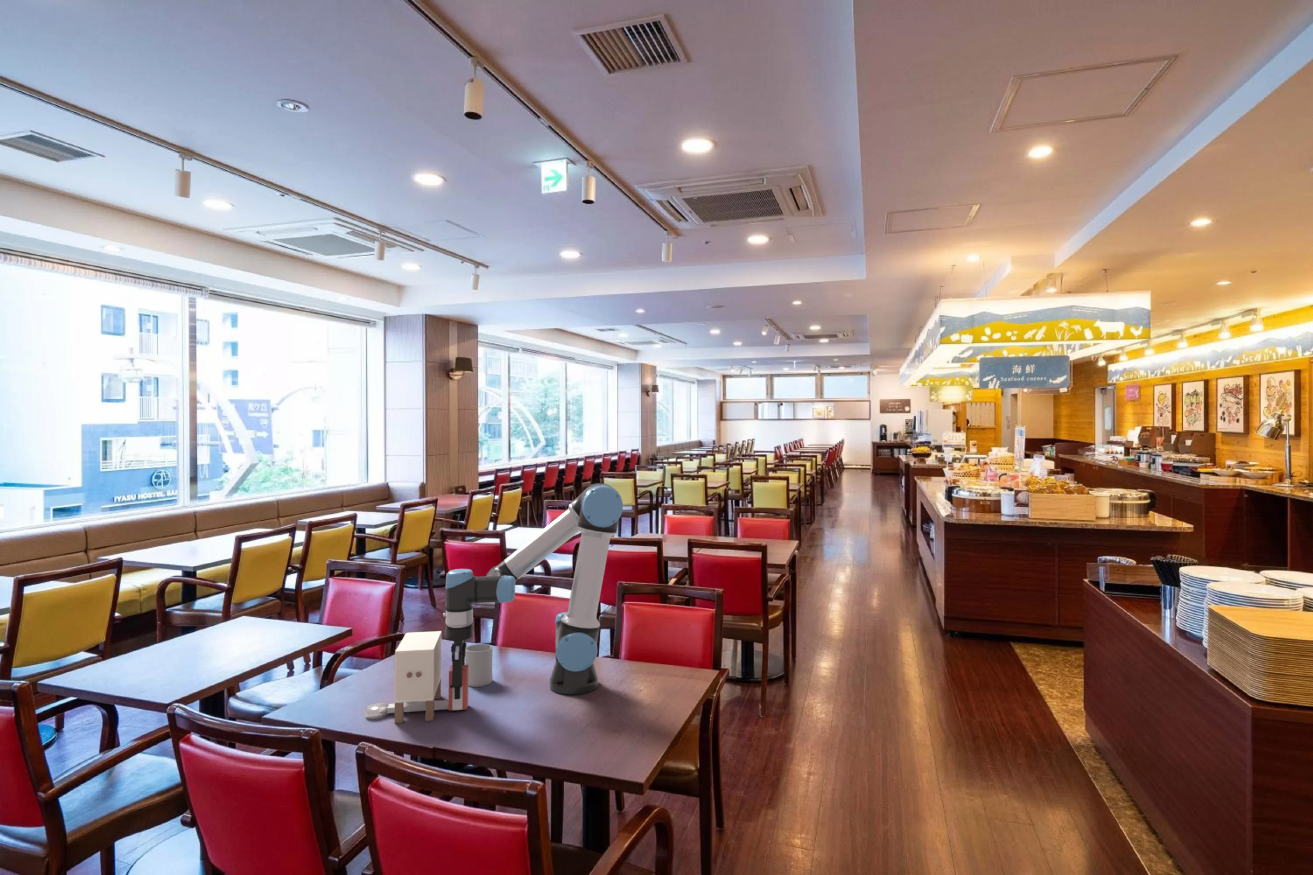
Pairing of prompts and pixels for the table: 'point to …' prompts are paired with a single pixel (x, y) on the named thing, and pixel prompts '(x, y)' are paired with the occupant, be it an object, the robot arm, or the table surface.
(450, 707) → the red mallet
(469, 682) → the mug
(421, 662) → the cabinet
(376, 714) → the token
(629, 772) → the table surface
